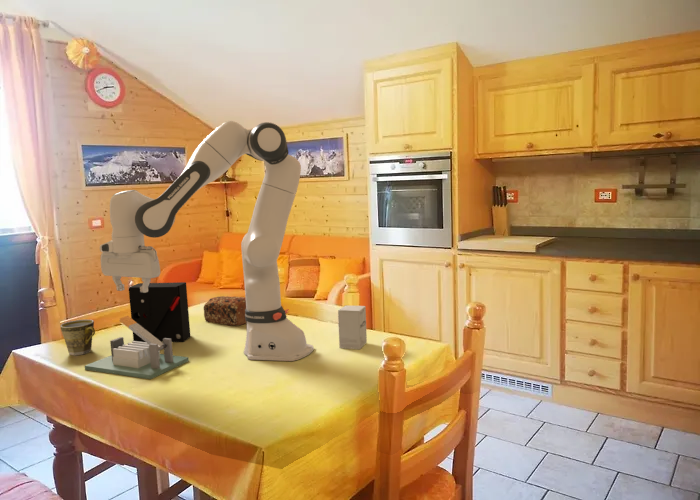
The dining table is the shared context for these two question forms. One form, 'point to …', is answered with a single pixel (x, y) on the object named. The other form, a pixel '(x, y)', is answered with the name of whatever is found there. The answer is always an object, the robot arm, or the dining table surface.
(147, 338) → the grey flat bar
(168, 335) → the electrical component
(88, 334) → the ceramic cup
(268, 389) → the dining table surface
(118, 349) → the board
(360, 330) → the supplement box
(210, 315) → the bread
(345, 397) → the dining table surface
